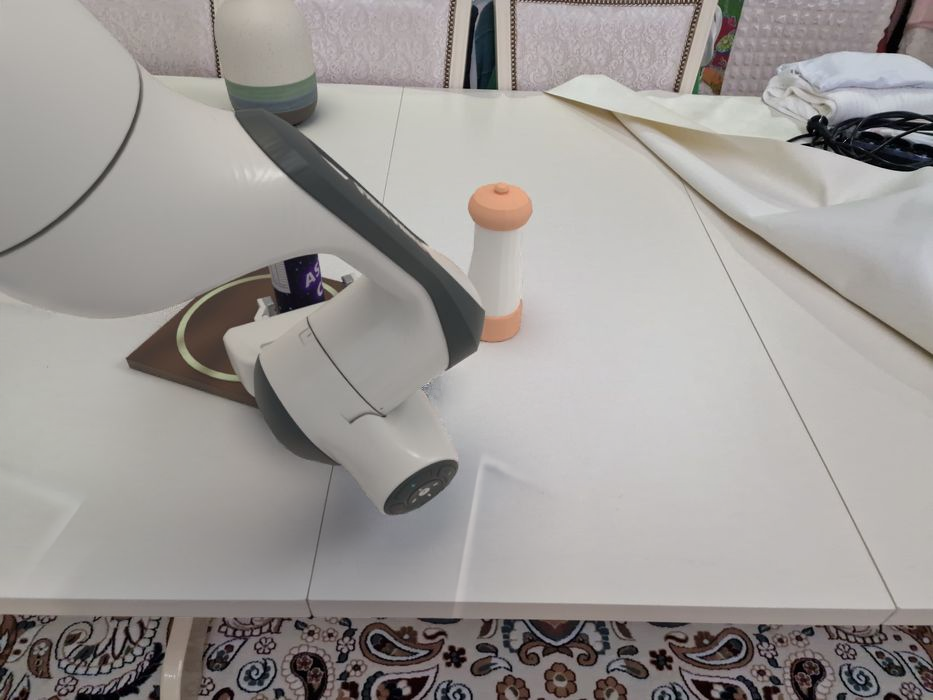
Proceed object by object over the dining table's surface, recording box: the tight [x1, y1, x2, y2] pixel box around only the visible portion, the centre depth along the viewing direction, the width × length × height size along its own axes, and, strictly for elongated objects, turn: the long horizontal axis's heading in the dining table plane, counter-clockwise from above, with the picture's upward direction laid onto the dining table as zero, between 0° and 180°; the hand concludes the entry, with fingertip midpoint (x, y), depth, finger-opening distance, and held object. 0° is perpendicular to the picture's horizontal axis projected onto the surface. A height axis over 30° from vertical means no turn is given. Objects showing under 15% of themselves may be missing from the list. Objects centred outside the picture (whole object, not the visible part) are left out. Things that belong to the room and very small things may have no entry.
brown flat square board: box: [125, 266, 343, 409], centre depth 75 cm, size 22×22×2 cm
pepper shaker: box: [466, 182, 533, 343], centre depth 71 cm, size 7×7×19 cm
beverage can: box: [268, 254, 325, 314], centre depth 72 cm, size 6×6×12 cm
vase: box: [213, 0, 319, 126], centre depth 115 cm, size 17×17×24 cm
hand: (307, 290), depth 68 cm, fingers open, 8 cm apart
